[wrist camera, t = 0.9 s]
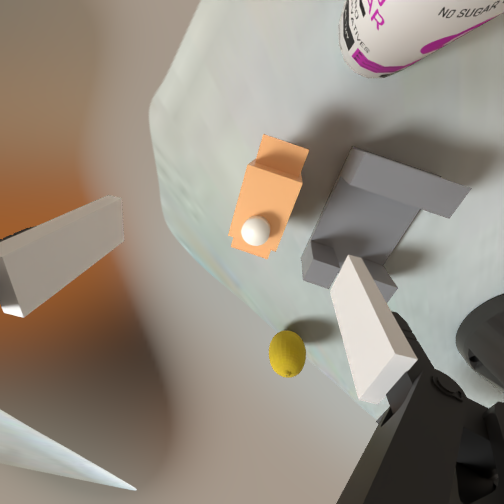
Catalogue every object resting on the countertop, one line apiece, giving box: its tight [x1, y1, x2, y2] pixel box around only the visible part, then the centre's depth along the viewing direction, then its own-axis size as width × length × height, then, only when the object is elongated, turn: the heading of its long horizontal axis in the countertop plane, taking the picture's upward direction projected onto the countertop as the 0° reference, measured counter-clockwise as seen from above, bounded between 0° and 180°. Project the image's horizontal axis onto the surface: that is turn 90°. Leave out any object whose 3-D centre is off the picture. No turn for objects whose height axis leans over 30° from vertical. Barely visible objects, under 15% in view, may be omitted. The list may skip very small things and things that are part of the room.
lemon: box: [269, 330, 306, 377], centre depth 37 cm, size 6×6×8 cm
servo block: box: [228, 134, 309, 259], centre depth 26 cm, size 5×12×10 cm, turn 163°
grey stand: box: [301, 146, 472, 303], centre depth 28 cm, size 10×15×6 cm, turn 163°
